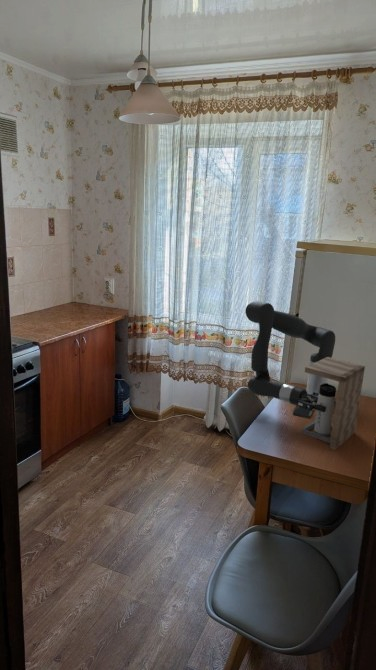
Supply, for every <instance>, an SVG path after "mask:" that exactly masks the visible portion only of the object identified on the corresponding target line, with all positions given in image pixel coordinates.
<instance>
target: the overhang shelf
mask: <svg viewBox="0 0 376 670" xmlns="http://www.w3.org/2000/svg"><path fill="white" fill-rule="evenodd" d="M365 370H366V365H363V364H357V363H353V362H350V361H346V360H341V359H338V358H333V357H332V358H330V357H326V358H324V359H322V360H320V361H317V362H315V363H313V364H311V365H310V364H308V365H306V366H305V367H304V373H307V374H308V373H310V374H313V375H317V376H320V377H324V378H328V380H331V381H336V382H338V386H337V391H336V398H335V400H336V401H335V405H334V411H333V413H334V414H333V418H332V425H331V426H332V431H331V432H330V437H331V440H330V443H329V447H328V448H329V449H331V450H334V451H335V450H336V449H338V448H339V447H340V446H341V445H342V444H343V443H344V442H346V441H348V439H349V438H351V436H353V435H354V434H355V433H356V427H357V420H358V414H359V413H358V412H359V406H360V401H361V394H362V388H363V383H364V377H365V376H364V375H365Z"/></svg>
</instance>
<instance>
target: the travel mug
mask: <svg viewBox="0 0 376 670" xmlns="http://www.w3.org/2000/svg"><path fill="white" fill-rule="evenodd" d="M336 394H337V388H336V386H334V385H332V384H329V383H328V382H327V383H323V384H322V385H320V390H319V396H318V400H317V401H318V404H319V405H322V406H325V407H326V411H325V412H322V411H319V410H316V411H315V412H316V413H315V419H314V421H315V426H314V427H313V432H314V433H317V434H320V435H322V436H325V437H328V436H331V426H332V424H333V417H334V414H333V413H334V410H335V405H334V402H335V403H336V401H335V400H336Z"/></svg>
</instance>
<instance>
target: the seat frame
mask: <svg viewBox="0 0 376 670" xmlns="http://www.w3.org/2000/svg"><path fill="white" fill-rule="evenodd" d="M314 426H315V420H313V421H312V422H311V423H308V424H307V425H306V426H304V427H303V428H301V431H300V433H301V434H303V435H307V436H309V437H312V438H313V439H317V440H321V441H323V442H326V443H329V444H330V440H331V436H330V437H328V436H322V435H320V434H317V433H314V431H310V430H311V429H312V428H314ZM332 426H333V425H331V430H330V432H332Z"/></svg>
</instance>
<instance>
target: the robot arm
mask: <svg viewBox="0 0 376 670" xmlns="http://www.w3.org/2000/svg"><path fill="white" fill-rule="evenodd" d="M244 310H245V316H246V318H247V319H248V320H249V321H250V322H252V323H255V324H258V326H259V327H258V328H259V329H258V332H259V333H258V336H257V338H256V341H255V342H254V344H253V347H252V350H251V360H250V361H251V365H250V366H251V368H250V369H251V370H252V371H253V372H255V376H254V377H252V378H250V379H249V380H248V381H247V388H248V390H249V391H250V392H251V393H252V394H254V395H256V396H257V395H258V396H262V397H272V398H274V399H276V400H280V401H282V402H285V403H287V404H291V405H294V406H295V407H296V406H298V407H301V408H304V409H307V410H309V411H312V409H313V410H314V411H315V410H316V411H317V410H319V411H322V412H325V411H326V407H325V406H322V405H319V404H318V396H319V390H320V385H322V384H323V383H328V380H329V379H328V378H324V377H320V376H317V375H313V374H310V373H307V383H306V388H302V387H299V386H296V385H292V384H289V383H284V382H280V381H276V380H275V381H271V378H270V371H269V368H268V365H269V346H270V341H271V336H272V330H275V331H277V332H279V333H282V334H284V335H286V336H289V337H292V338H295V339H297V338H298V339H302V340H303V341H306V342H308V343H309V344H311V345H312V346H314V347H317V348H319V349H318V352H315V353H314V352H313V353H311V354H310V358H309V365H311V364H313V363H315V362H317V361H320V360H322V359H324V358H326V357H330V358H333V354H334V349H335V345H336V334H335V332H334V331H332V330H330V329H327V328H324V327H320V326H316V325H315V326H314V325H312V324H309V323H307V322H306V321H305V320H304V319H302V318H300V317H298V316H296V315H293V314H291V313H287V312H285V311H284V312H282V311H279V310H275V308H274V306H273V305H272V304H271V303H269V302H264V301H257V300H256V301H251V302H250V303H249V304H247V305H246V307H245V309H244ZM307 406H308V407H309V408H308V407H307ZM334 406H336V401H335V402H334Z"/></svg>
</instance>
